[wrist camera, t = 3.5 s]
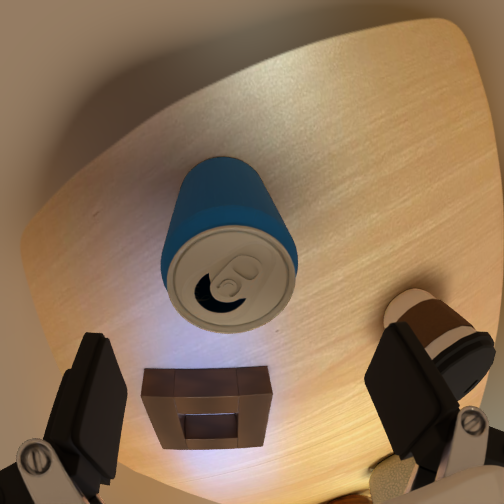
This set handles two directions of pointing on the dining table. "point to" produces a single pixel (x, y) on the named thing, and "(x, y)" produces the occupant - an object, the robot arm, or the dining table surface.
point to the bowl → (352, 500)
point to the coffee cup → (445, 338)
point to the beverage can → (227, 250)
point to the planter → (390, 478)
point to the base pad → (208, 407)
